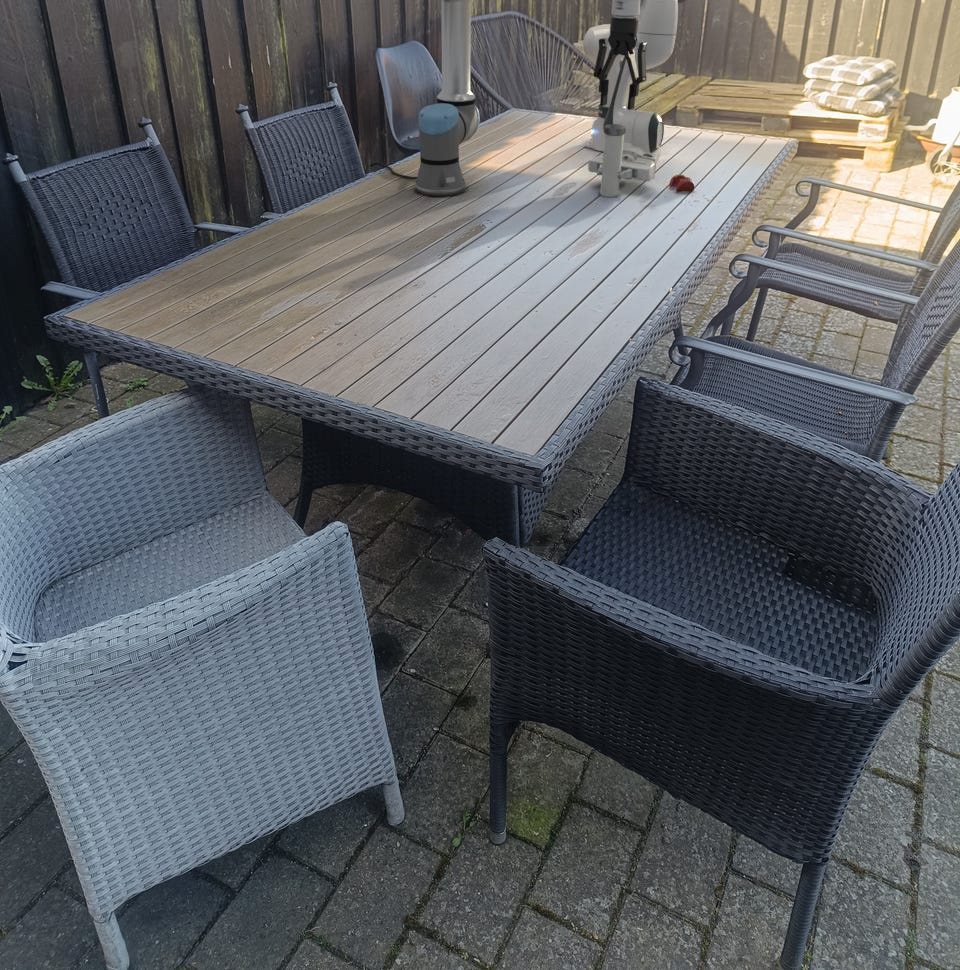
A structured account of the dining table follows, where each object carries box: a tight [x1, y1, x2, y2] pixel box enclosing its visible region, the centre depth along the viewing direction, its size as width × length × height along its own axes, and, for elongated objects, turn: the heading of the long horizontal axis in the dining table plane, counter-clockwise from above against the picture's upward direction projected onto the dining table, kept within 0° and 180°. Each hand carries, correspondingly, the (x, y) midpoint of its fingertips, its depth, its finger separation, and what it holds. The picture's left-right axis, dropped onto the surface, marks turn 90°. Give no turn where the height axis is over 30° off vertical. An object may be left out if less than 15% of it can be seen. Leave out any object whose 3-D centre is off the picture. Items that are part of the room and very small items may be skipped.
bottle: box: [599, 134, 624, 198], centre depth 249 cm, size 6×6×19 cm
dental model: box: [668, 174, 695, 193], centre depth 257 cm, size 6×4×8 cm
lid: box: [604, 124, 626, 135], centre depth 244 cm, size 6×6×2 cm
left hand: (617, 106), depth 240 cm, fingers open, 8 cm apart
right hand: (609, 174), depth 251 cm, fingers closed on bottle, 5 cm apart
